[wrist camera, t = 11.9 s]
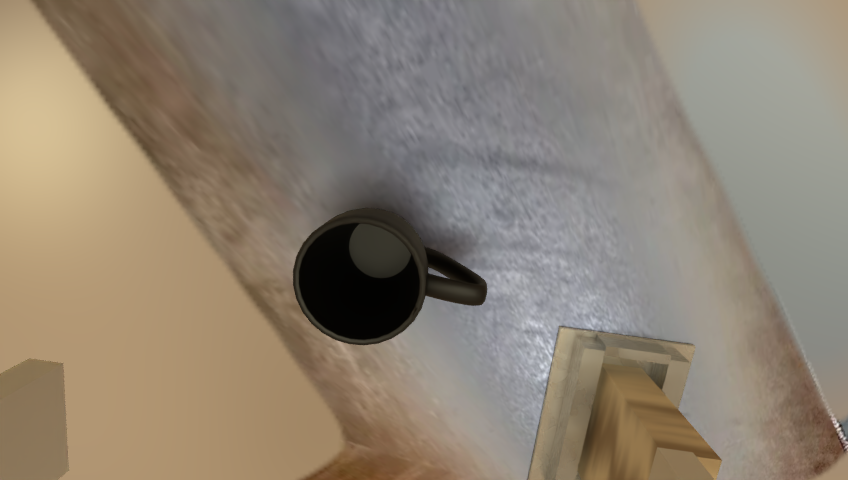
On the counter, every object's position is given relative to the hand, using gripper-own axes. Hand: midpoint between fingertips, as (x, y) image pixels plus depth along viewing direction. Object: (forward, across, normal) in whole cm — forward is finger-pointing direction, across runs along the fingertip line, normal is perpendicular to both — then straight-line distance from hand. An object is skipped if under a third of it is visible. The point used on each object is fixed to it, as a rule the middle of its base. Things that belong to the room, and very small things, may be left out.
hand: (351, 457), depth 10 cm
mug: (+27, -1, -2) cm, 27 cm away
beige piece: (+27, +18, -14) cm, 35 cm away
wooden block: (+26, +18, -14) cm, 35 cm away
